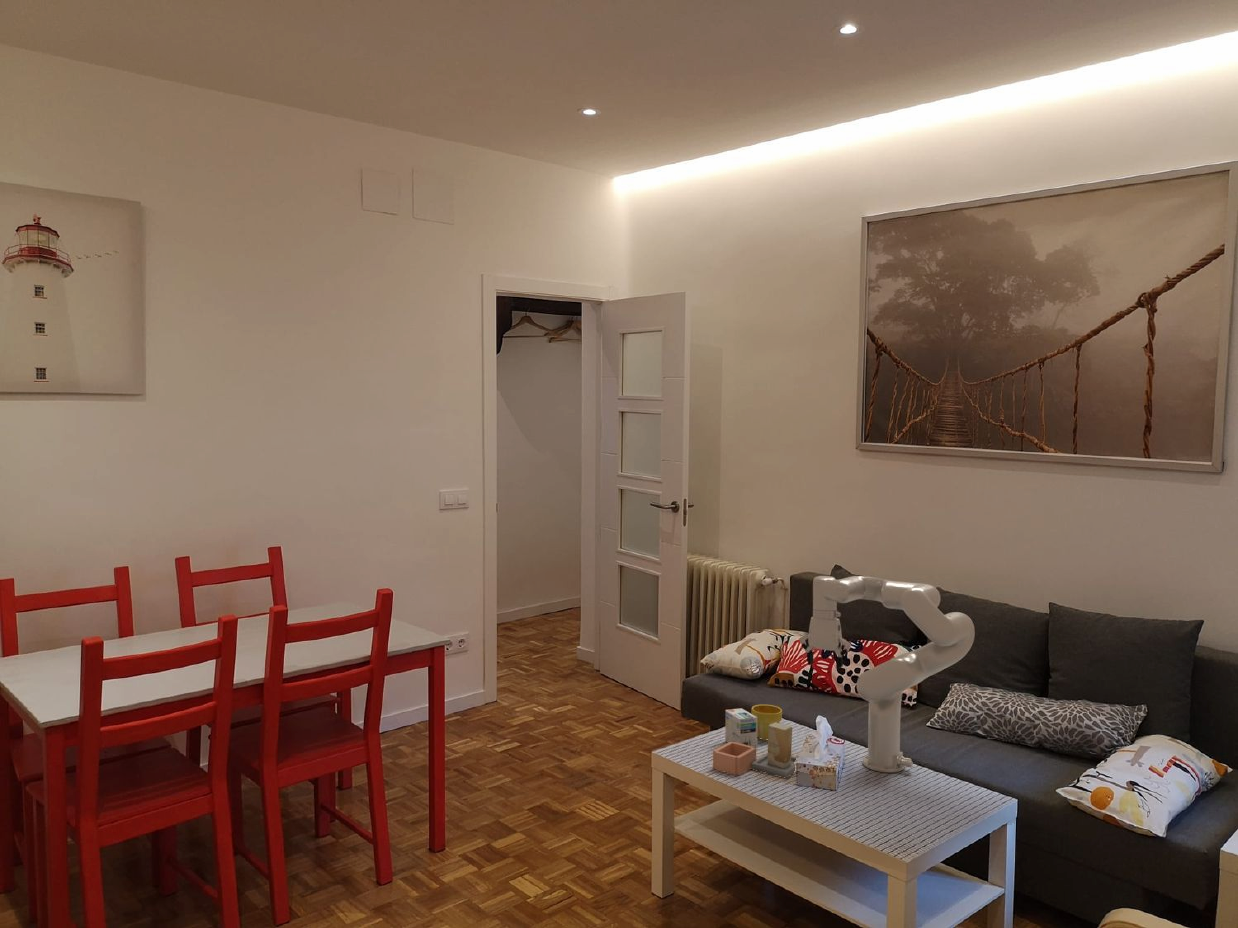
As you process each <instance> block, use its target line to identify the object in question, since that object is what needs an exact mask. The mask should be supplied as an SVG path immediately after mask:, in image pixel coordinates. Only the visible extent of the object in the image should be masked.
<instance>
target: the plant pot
mask: <svg viewBox="0 0 1238 928" xmlns="http://www.w3.org/2000/svg"><path fill="white" fill-rule="evenodd" d="M750 710H751V711H750V713H751V714H752V715H754V716H756V717H758V722H757V737H758V738H757V739H759V738H762V739H768V731H769V725H770V724H773V723H775V722H777V723H780V722H781V721H782V718H783V710H782V708H780V707H779V706H776V705H773V704H757V705H756V704H755V705H753V706H752V707H751V709H750Z"/></svg>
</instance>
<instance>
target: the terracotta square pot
mask: <svg viewBox="0 0 1238 928" xmlns="http://www.w3.org/2000/svg"><path fill="white" fill-rule="evenodd" d="M755 760H757V749H756V748H754V747H752V746H748V745H744V744H740V743H736V742H727V743H725V744H723V745H721V746H720V747H717V748H715V749H713V750H712V768H715V769H716V770H715V769H714V770H715V771H717V770H719V771H718V772H721V771H725V772H728V773H731V774H730V775H732V774H734V775H733V776H738V775H740V776H742V775H743V774H745V773H746V772H745V771H747V772H748V771H750V770H751V769H750V768H751V763H752V762H754V761H755ZM749 769H750V770H749ZM744 772H745V773H744ZM728 773H727V774H728ZM742 773H743V774H742ZM736 774H737V775H736ZM741 774H742V775H741Z"/></svg>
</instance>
